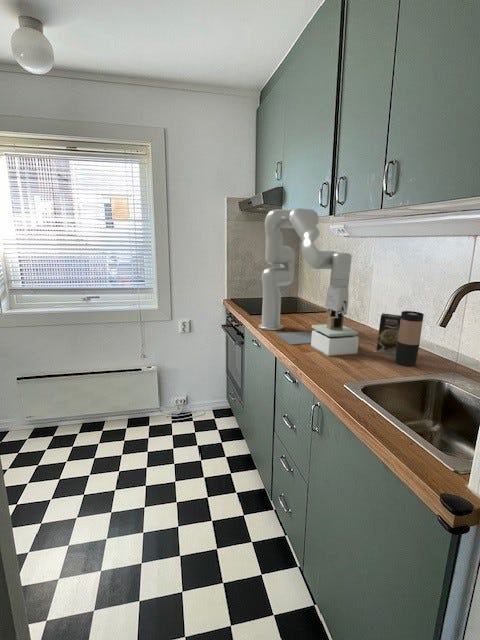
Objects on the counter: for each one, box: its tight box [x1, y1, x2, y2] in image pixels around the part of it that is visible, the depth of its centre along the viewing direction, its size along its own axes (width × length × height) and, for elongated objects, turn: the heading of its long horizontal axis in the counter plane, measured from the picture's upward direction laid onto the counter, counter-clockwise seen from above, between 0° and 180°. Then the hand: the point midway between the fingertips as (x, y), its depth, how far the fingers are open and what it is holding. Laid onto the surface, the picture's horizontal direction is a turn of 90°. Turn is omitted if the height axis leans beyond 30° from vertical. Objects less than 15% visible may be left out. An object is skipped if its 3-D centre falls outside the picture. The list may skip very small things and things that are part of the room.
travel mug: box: [395, 310, 425, 367], centre depth 131 cm, size 8×8×20 cm
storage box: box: [310, 329, 360, 357], centre depth 147 cm, size 14×14×7 cm
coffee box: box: [375, 312, 401, 356], centre depth 144 cm, size 9×6×16 cm
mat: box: [274, 331, 312, 346], centre depth 164 cm, size 18×18×1 cm
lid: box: [311, 315, 360, 337], centre depth 146 cm, size 14×14×7 cm
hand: (334, 325), depth 146 cm, fingers closed on lid, 3 cm apart
